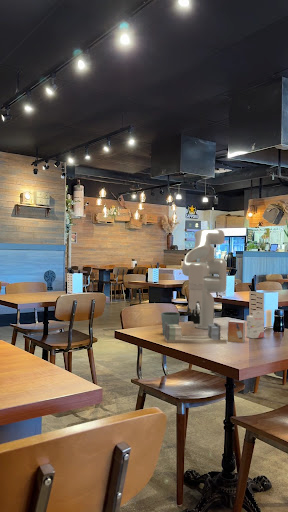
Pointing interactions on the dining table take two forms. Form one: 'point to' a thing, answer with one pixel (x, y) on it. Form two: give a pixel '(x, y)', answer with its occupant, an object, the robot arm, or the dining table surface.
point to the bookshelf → (175, 336)
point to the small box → (236, 331)
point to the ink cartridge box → (255, 325)
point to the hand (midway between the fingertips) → (195, 322)
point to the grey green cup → (169, 319)
